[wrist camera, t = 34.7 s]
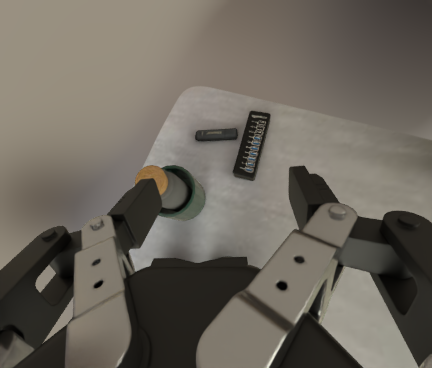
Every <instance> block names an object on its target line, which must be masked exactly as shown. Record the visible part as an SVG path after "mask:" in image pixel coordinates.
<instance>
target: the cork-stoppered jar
mask: <svg viewBox="0 0 432 368" xmlns="http://www.w3.org/2000/svg"><path fill="white" fill-rule="evenodd" d="M149 178H153V179H154V180H155V181H156V184H157V187H158V190H159V193H160V196H161V199H162V207H164V208H167V209H170V210H173V211H176V212H179V211H181V210H182V209H183V208H184V207H186V205H187V204H188V202H189V201H190V199H191V196H192V192H193V189H192V188H191V187H189V186H188V185H187V184H186V183H185V182H183V181H182V180H181V179H180V178H178V177H177V176H176V175H174V174H173V173H171V172H167V171H166V170H164V169H161V168H160V167H158V166H154V165H151V166H147V167H144V168H143V169H142V170H140V172H139V173H138V174H137V176H136V180H135V185H136V184H137V183H138V182H139V180H140V179H149Z"/></svg>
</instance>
